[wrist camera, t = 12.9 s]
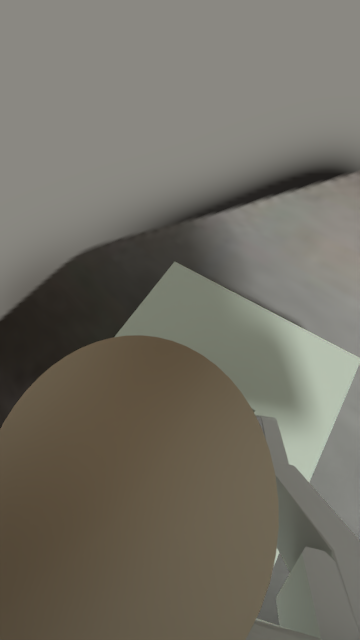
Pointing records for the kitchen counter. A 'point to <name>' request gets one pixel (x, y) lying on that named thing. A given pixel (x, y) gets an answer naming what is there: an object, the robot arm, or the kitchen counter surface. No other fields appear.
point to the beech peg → (134, 500)
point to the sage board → (254, 357)
